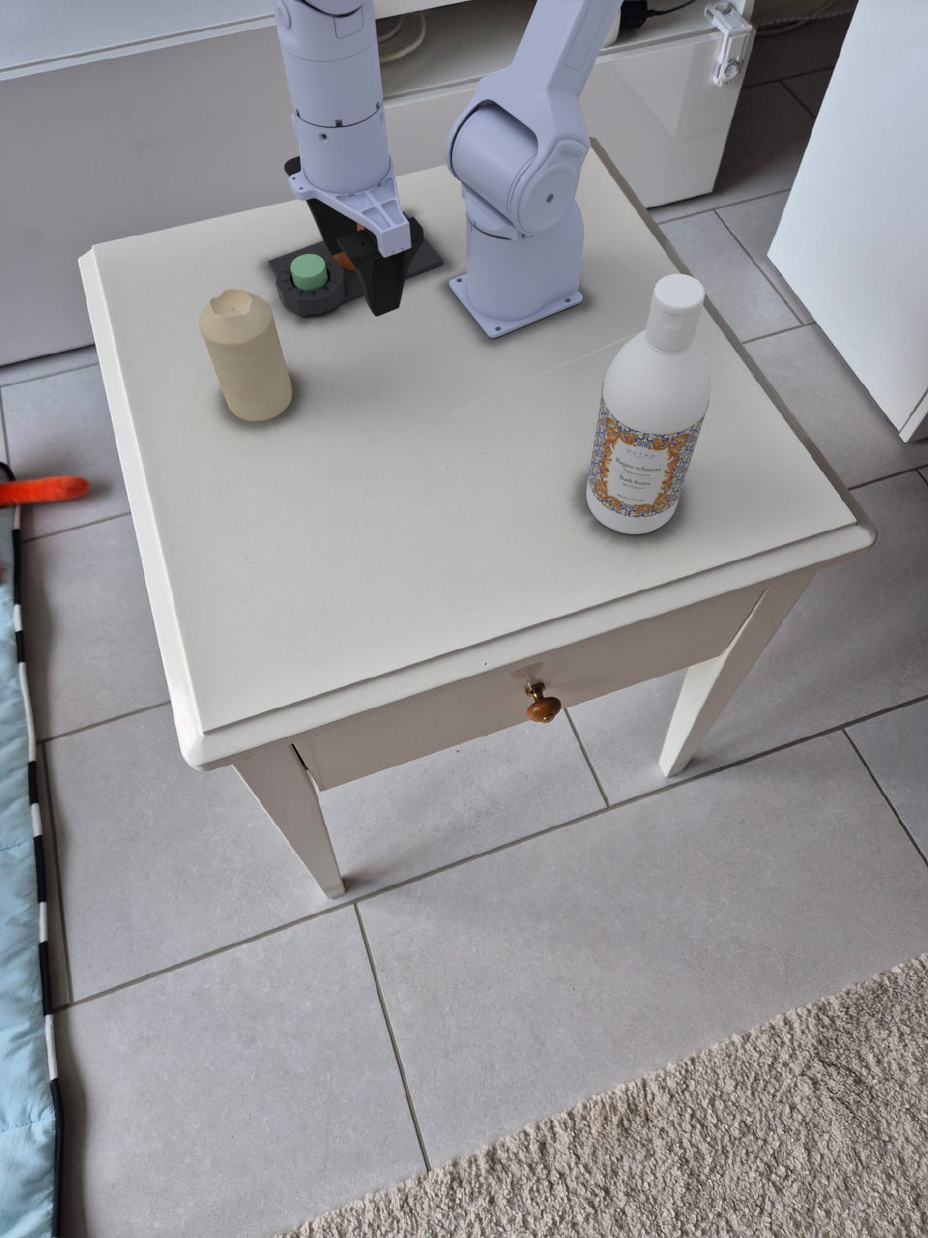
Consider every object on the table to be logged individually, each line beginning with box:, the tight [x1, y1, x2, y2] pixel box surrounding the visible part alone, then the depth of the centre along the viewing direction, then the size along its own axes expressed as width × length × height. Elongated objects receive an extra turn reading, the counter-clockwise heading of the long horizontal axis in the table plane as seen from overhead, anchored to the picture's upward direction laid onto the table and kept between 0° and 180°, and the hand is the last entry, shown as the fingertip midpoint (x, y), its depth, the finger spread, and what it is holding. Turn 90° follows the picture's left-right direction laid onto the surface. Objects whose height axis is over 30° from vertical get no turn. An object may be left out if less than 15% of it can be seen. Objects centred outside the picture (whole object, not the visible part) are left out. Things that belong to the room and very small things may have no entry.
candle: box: [198, 288, 293, 422], centre depth 71 cm, size 6×6×10 cm
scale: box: [267, 210, 444, 319], centre depth 81 cm, size 15×9×2 cm, turn 119°
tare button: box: [291, 254, 328, 291], centre depth 78 cm, size 3×3×2 cm
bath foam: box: [585, 273, 712, 535], centre depth 60 cm, size 7×7×20 cm
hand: (363, 278), depth 68 cm, fingers open, 7 cm apart
